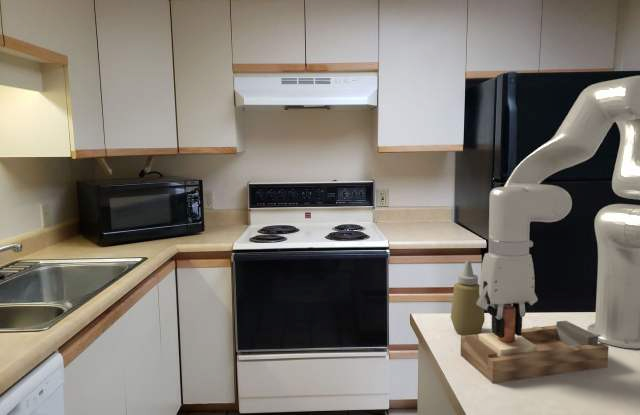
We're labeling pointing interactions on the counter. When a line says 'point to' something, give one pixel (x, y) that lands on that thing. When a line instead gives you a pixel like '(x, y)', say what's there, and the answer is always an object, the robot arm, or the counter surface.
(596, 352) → the base
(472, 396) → the counter surface
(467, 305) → the squeeze bottle
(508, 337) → the carriage
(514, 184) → the robot arm
